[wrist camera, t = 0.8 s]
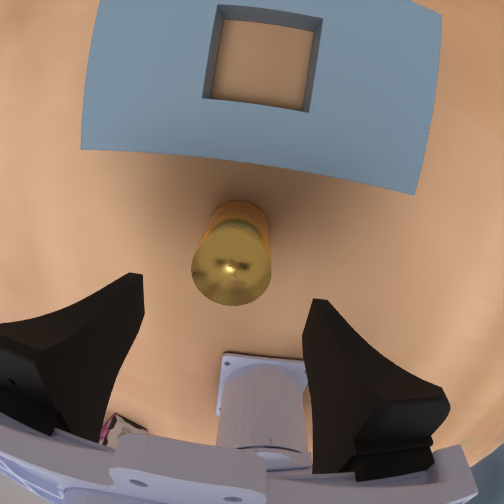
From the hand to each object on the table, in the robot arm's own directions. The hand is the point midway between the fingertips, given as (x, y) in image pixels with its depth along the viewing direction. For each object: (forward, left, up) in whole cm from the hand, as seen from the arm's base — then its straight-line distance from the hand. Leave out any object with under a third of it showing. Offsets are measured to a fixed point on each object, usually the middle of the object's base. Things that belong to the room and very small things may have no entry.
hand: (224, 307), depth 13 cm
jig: (+11, 0, -9) cm, 14 cm away
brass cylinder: (0, 0, -9) cm, 9 cm away
